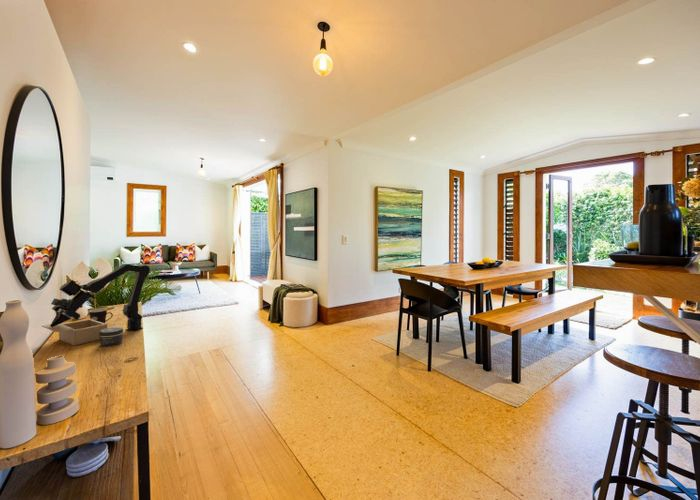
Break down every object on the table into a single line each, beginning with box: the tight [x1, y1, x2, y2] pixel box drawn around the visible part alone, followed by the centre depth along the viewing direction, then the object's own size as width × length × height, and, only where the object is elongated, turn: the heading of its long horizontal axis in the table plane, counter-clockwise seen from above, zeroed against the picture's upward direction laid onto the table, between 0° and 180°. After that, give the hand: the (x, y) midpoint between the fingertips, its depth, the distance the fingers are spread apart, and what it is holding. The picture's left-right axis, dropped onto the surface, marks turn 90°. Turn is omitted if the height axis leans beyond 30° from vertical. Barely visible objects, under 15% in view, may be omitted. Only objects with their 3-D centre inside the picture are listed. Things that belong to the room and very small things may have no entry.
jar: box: [99, 326, 124, 348], centre depth 163 cm, size 10×10×8 cm
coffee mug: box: [88, 308, 113, 324], centre depth 192 cm, size 12×9×10 cm
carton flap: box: [41, 323, 74, 333], centre depth 160 cm, size 1×18×7 cm
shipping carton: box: [58, 318, 108, 347], centre depth 169 cm, size 15×19×8 cm
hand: (51, 326), depth 158 cm, fingers closed
